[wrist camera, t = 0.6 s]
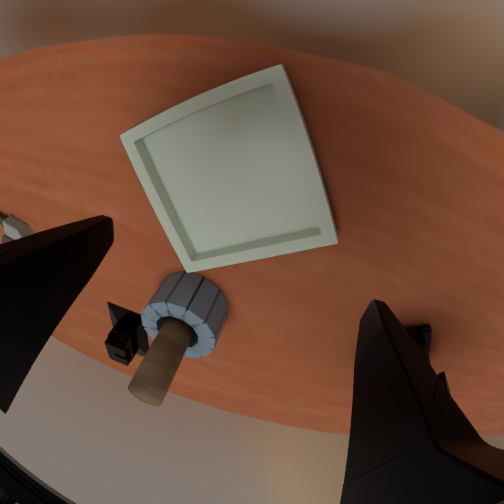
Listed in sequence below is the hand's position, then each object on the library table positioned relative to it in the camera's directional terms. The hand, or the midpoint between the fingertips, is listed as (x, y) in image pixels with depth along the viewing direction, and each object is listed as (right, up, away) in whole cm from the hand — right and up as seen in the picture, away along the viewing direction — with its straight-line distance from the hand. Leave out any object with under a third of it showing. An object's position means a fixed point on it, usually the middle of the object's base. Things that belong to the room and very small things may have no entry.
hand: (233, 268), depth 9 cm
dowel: (-6, -5, +20) cm, 22 cm away
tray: (-1, +6, +13) cm, 14 cm away
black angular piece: (-16, -10, +28) cm, 33 cm away
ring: (-5, -5, +21) cm, 22 cm away
